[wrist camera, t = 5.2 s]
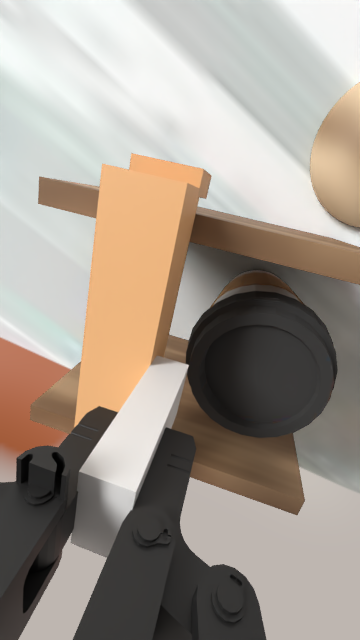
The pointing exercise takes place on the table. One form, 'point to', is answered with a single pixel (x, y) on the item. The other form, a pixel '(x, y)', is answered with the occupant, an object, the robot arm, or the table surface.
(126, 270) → the orange notched bar
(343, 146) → the coaster
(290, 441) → the cradle
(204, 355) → the coffee cup
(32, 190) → the table surface
